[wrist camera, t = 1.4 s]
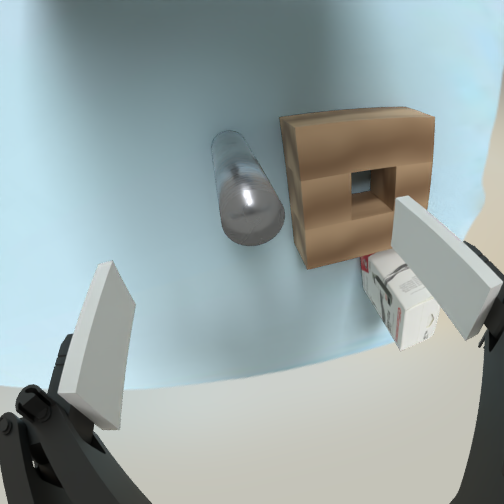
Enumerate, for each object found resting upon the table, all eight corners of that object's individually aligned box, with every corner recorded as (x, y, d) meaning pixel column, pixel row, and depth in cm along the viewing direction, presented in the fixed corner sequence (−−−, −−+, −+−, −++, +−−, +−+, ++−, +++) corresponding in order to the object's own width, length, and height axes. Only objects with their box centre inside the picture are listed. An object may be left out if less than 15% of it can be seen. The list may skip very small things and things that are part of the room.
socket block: (279, 117, 25) (294, 127, 21) (405, 106, 26) (434, 117, 22) (294, 242, 34) (307, 269, 29) (399, 218, 34) (421, 240, 30)
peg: (208, 134, 25) (214, 197, 14) (243, 127, 25) (280, 183, 14) (215, 166, 27) (228, 251, 16) (249, 159, 27) (287, 238, 16)
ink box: (356, 242, 35) (405, 310, 26) (390, 229, 35) (444, 290, 25) (362, 290, 40) (399, 354, 31) (391, 277, 40) (433, 337, 30)
